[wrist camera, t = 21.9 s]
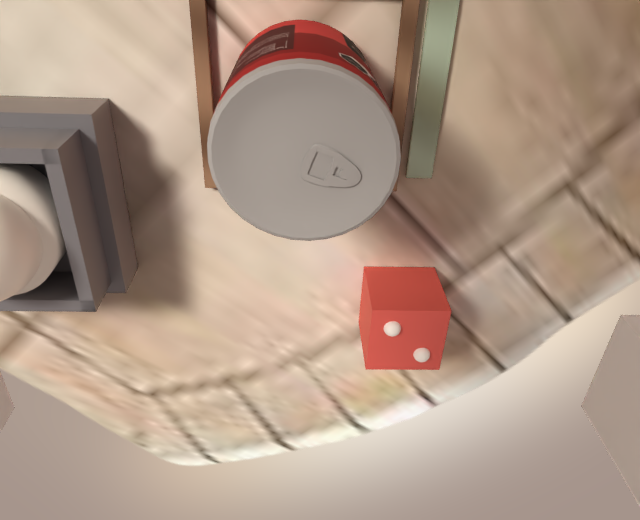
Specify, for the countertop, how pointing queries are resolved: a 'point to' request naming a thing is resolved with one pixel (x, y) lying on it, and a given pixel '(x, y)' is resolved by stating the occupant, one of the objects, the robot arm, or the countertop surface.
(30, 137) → the dome base
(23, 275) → the dome
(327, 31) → the canned food
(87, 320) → the countertop surface
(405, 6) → the frame
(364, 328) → the red die
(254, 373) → the countertop surface
